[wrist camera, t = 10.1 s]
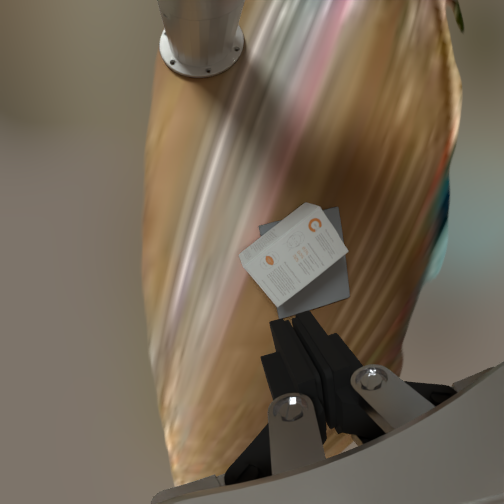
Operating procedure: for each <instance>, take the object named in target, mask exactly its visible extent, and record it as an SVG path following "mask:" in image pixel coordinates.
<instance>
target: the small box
mask: <svg viewBox="0 0 504 504" xmlns="http://www.w3.org/2000/svg"><path fill="white" fill-rule="evenodd" d="M347 252H348V249H347V248H346V246H345V245H344V243H343V242H342V240H341V238H340V237H339V235H338V233H337V231H336V230H335V228H334V227H333V225H332V224H331V222H330V221H329V220H328V218H327V217H326V215H325V214H324V212H323V210H322V209H321V207H320V206H317V205H314V204H310V203H307V202H305V203H304V204H302V205H301V206H300V207H298V208H297V209H296V210H295V211H293V212H292V213H291V214H289V215H288V216H287V217H286V218H284V219H283V220H282V221H281V222H279V223H278V224H277V225H275V226H274V227H273V228H272V229H270V230H269V231H268V232H266V233H265V234H264V235H263V236H261V237H260V238H259V239H258V240H256V241H255V242H254V243H253V244H251V245H250V246H249V247H247V248H246V249H245V250H244V251H242V252H241V253H240V254H239V258H240V260H241V263H242V266H243V267H244V269H245V270H246V271H247V272H248V273H249V274H250V276H251V277H252V278H253V279H254V280H255V281H256V283H257V284H258V285H259V286H260V287H261V289H262V290H263V291H264V292H265V293H266V294H267V296H268V297H269V298H270V299H271V300H272V302H273V303H274V304H275V305H276V307H279V306H280V305H282V304H283V303H284V302H286V301H287V300H288V299H289V298H291V297H292V296H293V295H295V294H296V293H297V292H299V291H300V290H301V289H303V288H304V287H305V286H306V285H308V284H309V283H310V282H311V281H313V280H314V279H315V278H316V277H318V276H319V275H320V274H321V273H323V272H324V271H325V270H326V269H328V268H329V267H330V266H331V265H333V264H334V263H335V262H336V261H337V260H339V259H340V258H341V257H342V256H344V255H345V254H346V253H347Z"/></svg>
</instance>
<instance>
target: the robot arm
mask: <svg viewBox="0 0 504 504" xmlns="http://www.w3.org/2000/svg"><path fill="white" fill-rule="evenodd" d="M157 1H158V5H159V9H160V13H161V17H162V20H163V24H164V28H165V29H164V31H163V32H162V35H161V37H160V42H159V49H160V54H161V56H162V59H163V61H164V62H165V64H166V65H167V66H168V67H169V68H170V69H171V70H173V71H174V72H176V73H178V74H180V75H183V76H186V77H192V78H205V77H211V76H214V75H217V74H220V73H222V72H224V71H226V70H227V69H228V68H230V67H231V66H232V65H233V64H234V63H235V62H236V61H237V60H238V58H239V56H240V55H241V52H242V49H243V44H244V36H243V33H242V30H241V28H240V26H239V25H238V23H239V19H240V16H241V12H242V8H243V5H244V1H245V0H157ZM166 35H167V36H166ZM235 50H237V51H238V52H237V51H235ZM172 63H175V64H174V65H172ZM207 71H210V73H207ZM269 323H270V328H271V332H272V336H273V340H274V345H275V349H276V352H275V353H272V354H268V355H265V356H261V361H262V364H263V368H264V371H265V375H266V378H267V382H268V385H269V388H270V391H271V394H272V398H273V402H272V403H271V404H270V406H269V408H268V424H267V425H266V426H265V427H264V429H263V430H262V431H261V432H260V433H259V435H258V436H257V437H256V438H255V439H254V440H253V442H252V443H251V444H250V445H249V446H248V447H247V448H246V450H245V451H244V452H243V453H242V454H241V455H240V456H239V457H238V458H237V459H236V461H235V462H234V463H233V464H232V465H231V466H230V467H229V468H228V470H227V471H226V473H225V474H223V475H220V476H217V477H216V476H215V475H212V476H209V477H206V478H203V479H200V480H197V481H194V482H191V483H188V484H184V485H181V486H177V487H174V488H170V489H167V490H163V491H161V492H159V493H157V494H156V495H155V496H154V497H153V499H152V501H151V504H504V362H502V363H500V364H499V365H497V366H495V367H491V368H488V369H486V370H483V371H481V372H479V373H477V374H475V375H472V376H470V377H467V378H465V379H462V380H460V381H457V382H455V383H453V385H452V387H450V386H446V385H438V384H426V383H415V382H407V381H403V380H401V379H400V378H399V377H398V376H396V375H395V374H394V373H393V372H391V371H390V370H389V369H387V368H386V367H384V366H381V365H366V366H363V365H362V364H361V363H360V362H359V360H358V359H357V358H356V356H355V355H354V354H353V353H352V351H351V350H350V349H349V348H348V346H347V345H346V344H345V343H344V341H343V340H342V339H341V338H340V336H339V335H338V334H337V333H334V334H331V335H327V334H326V332H325V331H324V330H323V328H322V327H321V326H320V324H319V323H318V322H317V320H316V319H315V318H314V316H313V315H312V314H311V312H310V311H309V310H307V311H304V312H301V313H298V314H296V318H293V319H292V324H293V327H292V325H291V324H290V322H289V320H286V321H284V320H283V318H281V319H278V320H274V321H271V322H269ZM326 422H327V424H328V426H329V428H330V429H332V428H334V427H335V429H336V431H337V433H338V434H340V433H342V432H343V433H347V434H351V437H352V439H353V440H354V442H355V443H356V444H357V445H358V447H356V448H353V449H351V450H348V451H346V452H343V453H341V454H338V455H335V456H333V457H330V458H327V459H326V458H325V454H324V449H323V444H324V442H325V441H326V439H327V436H326Z"/></svg>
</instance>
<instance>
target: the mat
mask: <svg viewBox="0 0 504 504" xmlns="http://www.w3.org/2000/svg"><path fill="white" fill-rule="evenodd" d="M323 212H324V214H325V215H326V217H327V218H328V220H329V221H330V222H331V224H332V225H333V227H334V228H335V230H336V231H337V233H338V235H339V237H340V238H341V240H342V242H343V234H342V228H341V221H340V214H339V208H338V207H333V208H329V209H325V210H323ZM281 221H282V220H280V221H276V222H272V223H268V224H264V225H260V226H259V230H260V235H261V236H263V235H264V234H265V233H266V232H268V231H269V230H270V229H272V228H273V227H274V226H275V225H277V224H278V223H279V222H281ZM343 243H344V242H343ZM348 297H350V294H349V284H348V274H347V266H346V257H345V255H344V256H342V257H341V258H340V259H339V260H337V261H336V262H335V263H334V264H333V265H331V266H330V267H329V268H328V269H326V270H325V271H324V272H323V273H321V274H320V275H319V276H318V277H316V278H315V279H314V280H313V281H311V282H310V283H309V284H308V285H306V286H305V287H304V288H303V289H301V290H300V291H299V292H297V293H296V294H295V295H293V296H292V297H291V298H289V299H288V300H287V301H286V302H284V303H283V304H282V305H280V306H279V307H277V311H278V316H279V319H281V318H285V317H288V316H292V315H295V314H298V313H301V312H304V311H307V310H311V309H314V308H317V307H321V306H324V305H327V304H330V303H333V302H336V301H339V300H342V299H345V298H348Z"/></svg>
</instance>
